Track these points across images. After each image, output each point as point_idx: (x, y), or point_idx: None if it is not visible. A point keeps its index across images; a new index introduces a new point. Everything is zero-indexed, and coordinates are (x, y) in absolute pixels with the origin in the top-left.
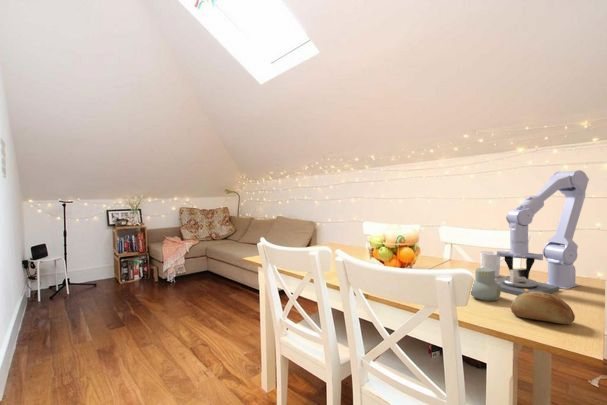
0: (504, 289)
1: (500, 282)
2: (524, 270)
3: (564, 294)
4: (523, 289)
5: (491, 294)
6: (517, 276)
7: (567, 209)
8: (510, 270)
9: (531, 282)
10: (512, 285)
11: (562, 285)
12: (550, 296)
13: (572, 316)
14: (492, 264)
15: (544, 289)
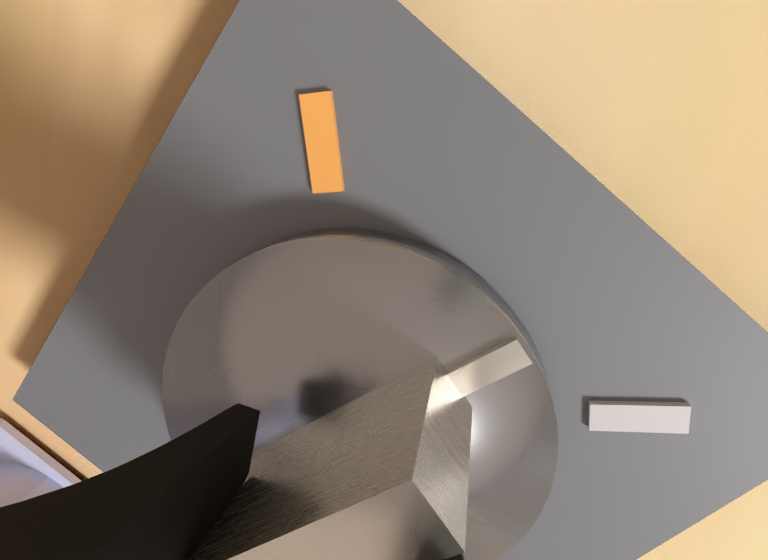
0: (596, 183)
1: (567, 464)
2: (213, 552)
3: (14, 258)
4: (355, 178)
5: None
6: (359, 434)
7: None
8: (456, 524)
9: (220, 379)
10: (470, 272)
11: (3, 469)
12: None
13: None
14: None
15: (133, 246)
